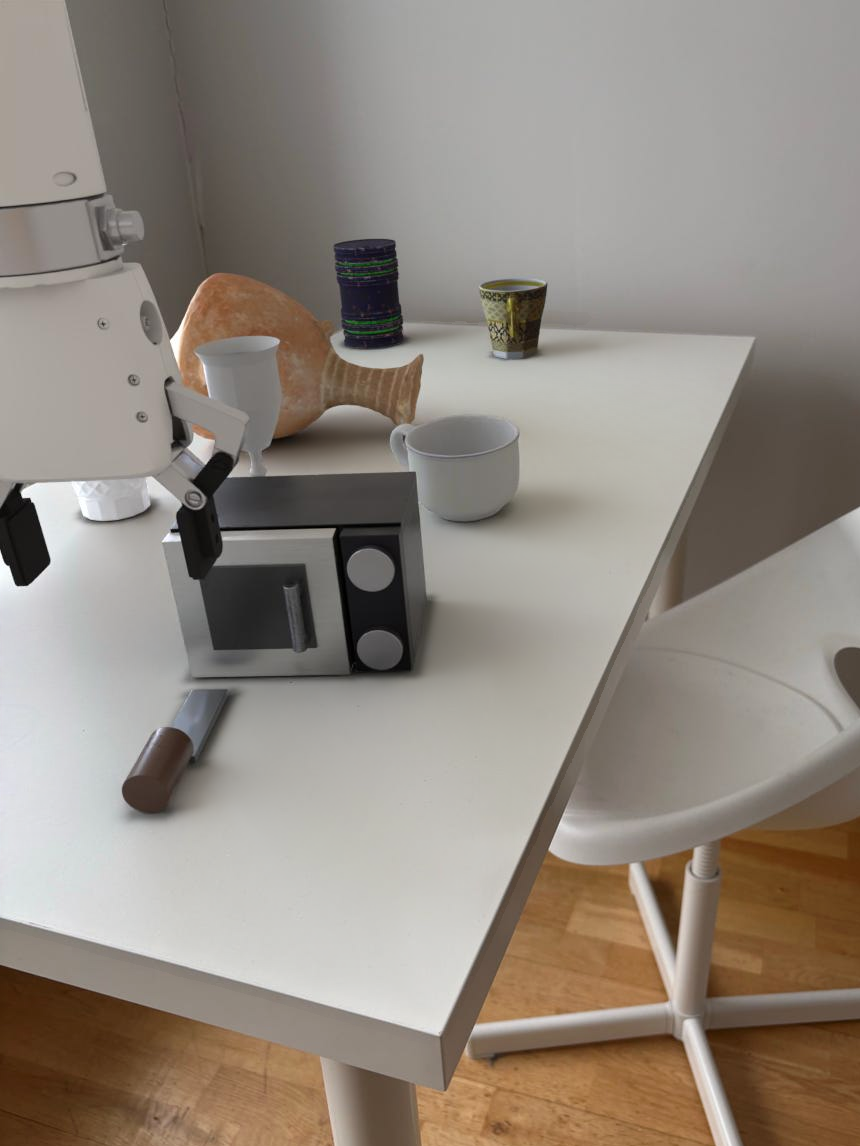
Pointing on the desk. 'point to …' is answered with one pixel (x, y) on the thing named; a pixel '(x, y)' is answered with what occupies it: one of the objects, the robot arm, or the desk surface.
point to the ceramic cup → (514, 315)
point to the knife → (172, 751)
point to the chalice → (246, 386)
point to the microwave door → (264, 605)
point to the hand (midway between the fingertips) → (119, 572)
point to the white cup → (112, 498)
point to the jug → (289, 355)
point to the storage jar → (369, 293)
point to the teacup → (461, 463)
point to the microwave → (350, 548)
